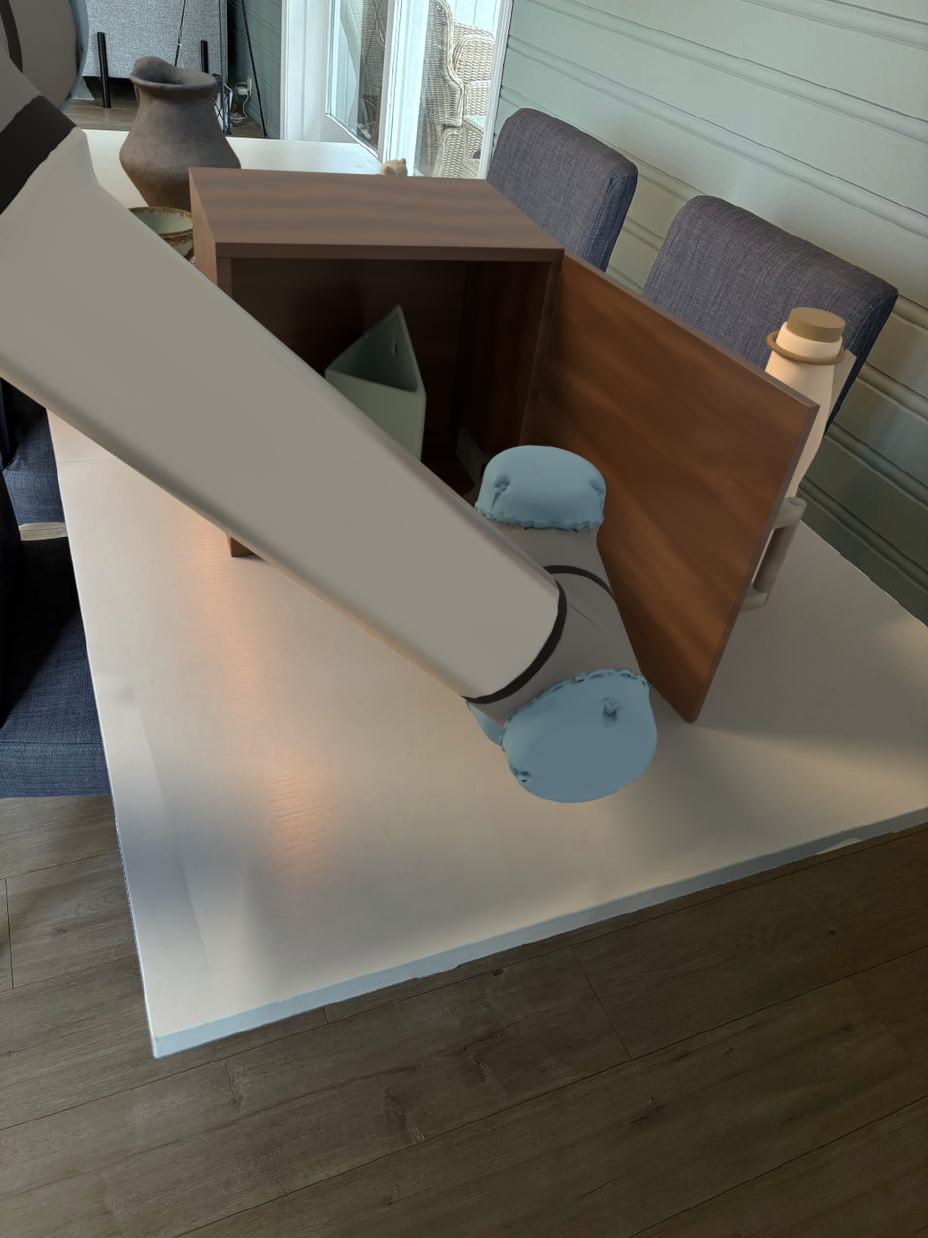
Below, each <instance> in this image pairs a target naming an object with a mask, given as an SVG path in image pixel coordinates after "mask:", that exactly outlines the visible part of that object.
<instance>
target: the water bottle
mask: <svg viewBox="0 0 928 1238" xmlns="http://www.w3.org/2000/svg"><path fill="white" fill-rule="evenodd" d="M845 327H846V321H845V320H844V319H843V318H842V317H840V316H839V315H837V314H836V313H833V312H830V311H827V310H824V309H821V308H815V307H809V306H798V307H794V308H792V309H791V310H790V312H789V316H788V319H787V321H785V322H784V323H782V326H781V327H780V329H779V330H775V331H772V332H771V333H769V334H768V335H767V337H766V340H765V341H766V345H767V346H768V347H769V349H770V350H771V354H770V356H769V359H768V361H767V364H766V367H765V370H764V371H765V372H767V373H769V374H770V375H772V376H773V377H775V378H777V379H778V380H780V381H782V382H783V383H785V384H786V385H788V386H790V387H791V388H793V389H795V390H796V391H798V392H799V393H801V394H803V395H804V396H806V397H808V398H809V399H811V400H812V401H814V402H816V403H817V404H819V405H820V409H819V411H818V414H817V417H816V419H815V422H814V424H813V427H812V429H811V432H810V434H809V437H808V439H807V442H806V444H805V447H804V449H803V452H802V455H801V457H800V460H799V462H798V465H797V467H796V470H795V472H794V475H793V477H792V480H791V482H790V485H789V487H788V490H787V493H786V495H785V498H787V497H796V495H797V492H798V489H799V485H800V483H801V482H802V480H803V478H804V476H805V475H806V472H807V471H808V469H809V467H810V465H811V463H812V462H813V460H814V458H815V456H816V454H817V452H818V450H819V448H820V445H821V443H822V441H823V437H824V434H825V429H826V426H827V422H828V420H829V418H830V416H831V413H832V412H833V410H834V407H835V405H836V403H837V401H838V398H839V396H840V394H841V392H842V390H843V388H844V386H845V384H846V382H847V380H848V377H849V375H850V373H851V371H852V368H853V367H854V364H855V362H856V360H857V358H858V357H857V356H856V355H855V354H853V353H852V352H851V351H850V350H849V349H847V347H845V346H844V345H843V344H842V343H843V337H842V334H843V331H844V329H845ZM774 339H776V340H775V341H774ZM773 531H774V529H773V530H772V531H771V533H770V536H769V538H768V541H767V543H766V546H765V548H764V551H763V553H762V556H761V558H760V561H759V564H758V566H757V569H756V571H755V574H754V576H753V579H752V581H751V583H753V582H754V579H755V577H756V574H757V572H758V569H759V567H760V564H761V561H762V559H763V556H764V554H765V551H766V549H767V546H768V544H769V541H770V539H771V536H772V534H773Z"/></svg>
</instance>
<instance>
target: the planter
mask: <svg viewBox="0 0 928 1238" xmlns="http://www.w3.org/2000/svg"><path fill="white" fill-rule="evenodd" d="M395 346H396V347H397V355H396V351H395ZM325 380H326V381H327V382H329V383H330V384H331V385H332V386H333V387H334V388H335V389H337V390H338V391H339V392H340V393H341V394H342V395H344V396H345V397H346V398H347V399H348V400H349V401H351V402H352V403H353V404H354V405H355V406H356V407H357V408H359V409H360V410H361V411H362V412H363V413H364V414H366V415H367V416H368V417H369V418H370V419H371V420H373V421H374V422H375V423H376V424H377V425H378V426H379V427H381V428H382V429H383V430H384V431H385V432H386V433H388V434H389V435H390V436H391V437H392V438H393V439H395V440H396V441H397V442H398V443H399V444H400V445H401V446H403V447H404V448H405V449H406V450H407V451H408V452H410V453H411V454H412V455H413V456H414V457H415V458H417V459H418V460H419V461H420V462H421V453H422V443H423V432H424V422H425V411H426V393H425V389H424V385H423V382H422V378H421V374H420V371H419V367H418V363H417V360H416V356H415V353H414V350H413V346H412V343H411V339H410V336H409V332H408V329H407V325H406V321H405V318H404V314H403V310H402V307H401V306H400V305H399V304H398V305H396V306H395V307H394V308H393V309H392V310H391V311H390V312H389V313H388V314H387V315H386V316H385V317H383V318H382V319H381V320H380V321H379V322H377V323H376V324H375V325H374V326H372V327H371V328H369V329H368V330H366V331H365V332H364V333H363V334H362V336H361V337H360V338H359V339H357V340H356V341H355V342H354V343H353V344H351V345H350V346H349V347H348V348H347V349H346V350H345V351H343V352H342V353H341V354H340V355H339V356H338V357H337V358H336V359H334V360H333V362H332V363H331V364H330V365H329V366H328V367H327V368H326V369H325Z"/></svg>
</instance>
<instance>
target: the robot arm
mask: <svg viewBox="0 0 928 1238" xmlns="http://www.w3.org/2000/svg"><path fill="white" fill-rule="evenodd" d="M89 39H90V23H89V13H88V6H87V0H0V378H1V379H3V380H4V381H6V382H7V383H9V384H10V385H11V386H13V387H15V388H16V389H18V390H19V391H20V392H21V393H22V394H24V395H26V396H27V397H29V398H30V399H32V400H33V401H34V402H36V403H37V404H39V405H40V406H42V407H43V408H45V409H46V410H48V411H49V412H50V413H51V414H53V415H55V416H57V418H59V419H60V420H62V421H63V422H65V423H66V424H68V425H69V426H71V427H72V428H73V429H75V430H76V431H78V432H79V433H81V434H82V435H83V436H85V437H87V438H88V439H89V440H91V441H92V442H94V443H95V444H97V445H98V446H99V447H101V448H103V449H104V450H105V451H107V452H108V453H110V454H111V455H112V456H114V457H115V458H117V459H118V460H119V461H121V462H123V463H124V464H126V465H127V466H128V467H130V468H131V469H133V470H134V471H136V472H137V473H138V474H140V475H141V476H142V477H144V478H145V479H147V480H148V481H150V482H151V483H153V484H154V485H156V486H157V487H159V488H160V489H162V490H163V491H164V492H166V493H167V494H169V495H170V496H172V497H173V498H175V500H177V501H179V502H180V503H182V504H183V505H185V506H186V508H187V507H188V508H189V509H190V510H192V511H193V512H195V513H196V514H197V515H199V516H200V517H201V518H203V519H205V520H206V521H207V522H209V523H211V524H212V525H213V526H215V527H216V528H217V529H219V530H221V531H222V532H224V533H225V534H228V535H229V536H231V537H232V538H234V539H235V540H236V541H238V542H239V543H241V544H242V545H244V546H245V547H247V548H248V549H249V550H251V551H252V552H254V553H255V555H257V556H258V557H259V558H261V559H262V560H264V562H267V563H268V564H269V565H271V566H273V567H274V568H275V569H277V570H278V571H280V572H281V573H283V574H284V575H285V576H287V577H288V578H290V579H291V580H293V581H294V582H296V583H297V584H298V585H300V586H302V588H304V589H305V590H306V591H309V592H310V593H311V594H312V595H314V596H316V597H317V598H319V599H320V600H321V601H323V602H324V603H326V604H327V605H329V606H330V607H331V608H333V609H335V610H336V611H337V612H339V613H341V615H343V616H345V617H346V618H347V619H349V620H350V621H352V622H353V623H354V624H356V625H357V626H359V627H360V628H361V629H363V630H364V631H366V632H368V633H369V634H370V635H371V636H373V637H374V638H376V639H378V640H379V641H380V642H382V643H383V644H385V645H386V646H387V647H389V648H391V649H392V650H394V651H395V652H397V654H399V655H401V656H402V657H404V658H405V659H406V660H408V661H409V662H410V663H412V664H414V665H415V666H417V667H418V668H420V669H421V670H422V671H423V672H425V673H427V674H428V675H430V676H431V677H432V678H434V679H435V680H436V681H438V682H439V683H441V684H442V685H444V686H445V687H447V688H448V689H450V690H451V691H452V692H454V693H455V694H457V695H458V696H459V697H461V698H463V699H464V702H465V705H466V708H468V710H469V711H471V713H472V715H473V716H474V719H475V721H476V722H477V724H478V725H479V727H480V729H481V731H482V732H483V734H484V735H485V737H486V738H487V739H489V740H490V741H491V742H492V743H494V744H495V745H497V746H499V747H500V749H501V750H502V752H503V753H504V754H505V756H506V760H507V764H508V768H509V770H510V772H511V774H512V777H514V778H515V780H516V782H517V783H518V784H519V786H520V787H522V788H523V789H524V790H525V791H526V792H528V793H530V794H532V795H533V796H535V797H538V798H540V799H543V800H547V801H551V802H556V803H560V804H561V803H563V804H579V803H587V802H592V801H597V800H599V799H603V798H605V797H608V796H611V795H613V794H615V793H616V792H618V791H619V789H621V788H623V787H627V786H628V784H630V783H631V782H634V781H636V780H637V779H639V777H640V776H641V775H642V774H643V773H644V772H645V770H646V769H647V768H648V766H649V765H650V764H651V761H652V759H653V758H654V755H655V752H656V749H657V743H658V729H657V725H656V724H657V723H656V721H655V717H654V713H653V710H652V706H651V702H650V697H649V696H650V687H649V684H648V682H647V678H646V677H645V676H644V675H643V674H642V673H641V671H640V668H639V666H638V663H637V660H636V657H635V655H634V652H633V649H632V646H631V644H630V641H629V638H628V636H627V633H626V630H625V627H624V625H623V622H622V619H621V616H620V614H619V611H618V608H617V605H616V602H615V599H614V596H613V593H612V590H611V587H610V584H609V581H608V578H607V575H606V572H605V569H604V566H603V563H602V560H601V557H600V555H599V552H598V549H597V543H596V540H597V532H598V529H599V527H600V524H602V522H603V519H604V515H603V507H604V500H605V493H606V486H605V481H604V479H603V477H602V475H601V473H600V472H599V470H598V469H597V468H596V467H595V466H594V465H593V464H591V463H590V462H589V461H587V460H586V459H584V458H582V457H580V456H578V455H576V454H574V453H572V452H569V451H566V450H563V449H559V448H555V447H549V446H532V445H529V446H519V447H514V448H510V449H507V450H505V451H503V452H501V453H500V454H498V455H496V456H495V457H494V458H493V457H492V455H491V454H490V453H489V452H487V451H481V449H480V448H479V446H478V445H477V443H476V442H475V440H474V439H473V437H472V436H471V434H470V433H469V431H468V430H467V428H463V429H459V433H458V441H457V449H456V455H457V456H458V458H459V460H460V461H461V463H462V464H463V466H464V468H465V469H466V471H467V472H468V474H469V476H470V477H471V479H472V480H473V482H474V484H475V486H474V487H473V489H472V490H471V491H470V492H469V494H464V496H463V497H461V496H459V495H458V494H457V493H456V492H455V491H454V490H452V489H451V488H450V487H449V486H448V485H447V484H445V483H444V482H443V481H442V480H441V479H440V478H439V477H437V476H436V475H435V474H434V473H433V472H432V471H430V470H429V469H428V468H427V467H426V466H425V465H423V464H422V463H421V462H420V461H419V460H418V459H417V458H415V457H414V456H413V455H412V454H411V453H410V452H408V451H407V450H406V449H405V448H404V447H403V446H401V445H400V444H399V443H398V442H397V441H396V440H395V439H393V438H392V437H391V436H390V435H389V434H388V433H386V432H385V431H384V430H383V429H382V428H381V427H379V426H378V425H377V424H376V423H375V422H374V421H373V420H371V419H370V418H369V417H368V416H367V415H366V414H364V413H363V412H362V411H361V410H360V409H359V408H357V407H356V406H355V405H354V404H353V403H352V402H351V401H349V400H348V399H347V398H346V397H345V396H344V395H342V394H341V393H340V392H339V391H338V390H337V389H335V388H334V387H333V386H332V385H331V384H330V383H329V382H327V381H326V380H325V379H324V378H323V377H322V376H320V375H319V374H318V373H317V372H316V371H315V370H313V369H312V368H311V367H310V366H309V365H308V364H307V363H305V362H304V361H303V360H302V359H301V358H300V357H298V356H297V355H296V354H295V353H294V352H293V351H291V350H290V349H289V348H288V347H287V346H286V345H285V344H283V343H282V342H281V341H280V340H279V339H278V338H276V337H275V336H274V335H273V334H272V333H271V332H269V331H268V330H267V329H266V328H265V327H264V326H263V325H261V324H260V323H259V322H258V321H257V320H256V319H254V318H253V317H252V316H251V315H250V314H249V313H247V312H246V311H245V310H244V309H243V308H242V307H241V306H239V305H238V304H237V303H236V302H235V301H234V300H232V299H231V298H230V297H229V296H228V295H227V294H225V293H224V292H223V291H222V290H221V289H220V288H219V287H217V286H216V285H215V284H214V283H213V282H212V281H210V280H209V279H208V278H207V277H206V276H205V275H203V274H202V273H201V272H200V271H199V270H198V269H197V268H195V265H193V263H191V261H189V262H188V261H187V260H186V259H185V258H184V257H183V256H181V255H180V254H179V253H178V252H177V251H176V250H175V249H173V248H172V247H171V246H170V245H169V244H168V243H166V242H165V241H164V240H163V239H162V238H161V237H159V236H158V235H157V234H156V233H155V232H154V231H153V230H151V229H150V228H149V227H148V226H147V225H146V224H144V223H143V222H142V221H141V220H140V219H139V218H137V217H136V216H135V215H134V214H133V213H132V212H131V211H129V210H128V207H126V206H125V205H124V204H122V202H120V201H119V200H118V199H117V198H115V196H113V195H112V194H111V193H110V192H108V191H107V189H105V188H104V187H103V186H102V185H101V183H100V182H99V180H98V177H97V176H96V173H95V170H94V165H93V160H92V156H91V150H90V145H89V141H88V136H87V133H86V132H85V131H84V130H83V129H82V128H81V127H79V125H78V124H76V123H75V122H74V121H73V120H71V119H70V118H69V117H68V116H67V115H66V114H65V113H64V112H65V111H66V110H67V109H68V108H69V106H70V105H71V103H72V101H73V99H74V97H75V96H76V93H77V92H78V89H79V86H80V84H81V81H82V77H83V73H84V69H85V66H86V63H87V57H88V51H89V42H90V41H89Z"/></svg>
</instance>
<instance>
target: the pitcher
mask: <svg viewBox="0 0 928 1238" xmlns="http://www.w3.org/2000/svg"><path fill="white" fill-rule="evenodd" d="M128 79H129V80H130V82H131V83H132V84H133V88H134V92H135V97H136V101H137V106H138V110H137V112H136V115H135V117H134V120H133V122H132V125H131V127H130V129H129V132H128V134H127V136H126V137H125V139H124V141H123V143H122V145H121V147H120V148H119V153H118V159H119V163H120V165H121V167H122V169H123V172H125V174H126V176H127V177H128V179H129V180H130V182H131V183H132V184H133V186H134V187H135V188H136V190H137V191H138V193H139V194H140V196H141V198H142V199H143V200H144V202H145V203H146V204H147V207H167V208H175V209H180V210H185V211H188V212H191V197H190V182H189V181H190V179H189V167H211V168H234V169H242V164H241V161H240V159H239V157H238V156H237V154H236V153H235V151H234V149H233V147H232V146H231V144H230V143H229V141H228V139H227V137H226V135H225V133H224V131H223V128H222V125H221V123H220V120H219V117H218V114H217V110H216V107H215V102H214V97H213V96H214V93H215V91H216V90H217V88H218V85H219V82H218V80H217V78H215V77H214V76H213V75H211V74H209V73H207V72H203V71H200V70H196V69H192V68H184V67H179V66H176V65H174V64H172V63H169V62H167V61H166V60H164V59H163V58H160V57H159V56H154V55H151V56H150V55H149V56H143V57H140V58H137V59H136V60H135V61H134V64H133V69H132V70H131V72H130V73H129V76H128ZM191 213H192V212H191Z"/></svg>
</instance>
